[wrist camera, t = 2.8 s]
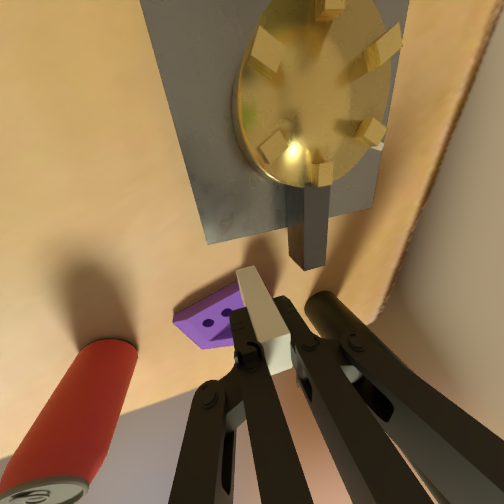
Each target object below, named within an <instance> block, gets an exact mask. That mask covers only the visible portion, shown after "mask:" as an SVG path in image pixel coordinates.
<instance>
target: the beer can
mask: <svg viewBox="0 0 504 504" xmlns="http://www.w3.org/2000/svg"><path fill="white" fill-rule="evenodd" d="M137 359H138V354H137V351H136V349H135V348H134V347H133V346H132V345H131V344H129V343H127V342H125V341H121V340H116V339H106V340H99V341H96V342H94V343H91V344H89V345H87V346H86V347H84V348H83V349H82V350H81V351H80V352H79V354H78V355H77V357H76V358H75V360H74V361H73V363H72V364H71V366H70V367H69V369H68V371H67V372H66V374H65V375H64V377H63V378H62V380H61V381H60V383H59V385H58V386H57V388H56V389H55V391H54V392H53V394H52V395H51V397H50V399H49V400H48V402H47V403H46V405H45V406H44V408H43V409H42V411H41V413H40V414H39V416H38V417H37V419H36V420H35V422H34V423H33V425H32V427H31V428H30V430H29V431H28V433H27V434H26V436H25V437H24V439H23V441H22V442H21V444H20V445H19V447H18V448H17V450H16V451H15V453H14V455H13V456H12V458H11V459H10V461H9V462H8V464H7V466H6V469H5V471H4V473H3V476H2V478H1V482H0V504H76V503H77V502H79V501H80V500H81V499H82V498H83V497H84V496H85V495H86V494H87V493H88V489H89V485H90V483H91V482H92V480H93V479H94V477H95V475H96V473H97V472H98V471H99V469H100V467H101V466H102V464H103V461H104V459H105V457H106V455H107V453H108V449H109V446H110V443H111V440H112V437H113V434H114V431H115V428H116V424H117V421H118V418H119V415H120V412H121V409H122V406H123V403H124V400H125V397H126V393H127V390H128V387H129V384H130V381H131V378H132V375H133V372H134V369H135V365H136V362H137Z"/></svg>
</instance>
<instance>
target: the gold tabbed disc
mask: <svg viewBox="0 0 504 504" xmlns="http://www.w3.org/2000/svg"><path fill="white" fill-rule="evenodd" d="M401 47H403V44H402V37H401V31H400V24H399V22H398V23H396V24H395V25H394V26H392V27H391V28H389V29H388V30H387V31H386V29H385V26H384V23H383V20H382V18H381V15H380V13H379V11H378V9H377V7H376V5H375V4H374V2H373V1H372V0H272V1H271V2H270V3H269V5H268V6H267V8H266V9H265V11H264V12H263V14H262V15H261V17H260V19H259V21H258V23H257V25H256V27H255V29H254V31H253V33H252V36H251V38H250V41H249V43H248V46H247V48H246V51H245V53H244V56H243V58H242V61H241V63H240V66H239V69H238V72H237V74H236V78H235V83H234V87H233V95H232V117H233V125H234V130H235V134H236V137H237V140H238V143H239V145H240V148H241V150H242V152H243V154H244V155H245V157H246V159H247V160H248V161H249V163H250V164H251V165H252V166H253V167H254V168H255V169H256V170H257V171H258V172H259V173H260V174H261V175H263V176H264V177H266V178H268V179H270V180H272V181H275V182H278V183H282V184H286V200H287V223H288V246H289V256H290V257H291V258H292V259H293V260H294V261H295V262H296V263H297V264H298V265H299V266H300V267H301V268H302V269H303V271H307V270H310V269H314V268H318V267H321V266H325V261H326V246H327V231H328V217H329V202H330V188H331V185H332V182H334V181H335V180H337V179H339V178H341V177H342V176H343V175H345V174H346V173H347V172H349V171H350V170H351V169H352V168H353V167H354V166H355V165H356V164H357V163H358V161H359V160H360V159H361V158H362V157H363V155H364V154H365V153H366V151H367V150H368V148H369V147H375V146H378V145H379V143H380V142H381V140H382V138H383V136H384V134H385V133H386V131H387V128H386V127H385V126H384V125H382V124H381V121H382V119H383V115H384V112H385V109H386V105H387V100H388V95H389V88H390V78H391V58H390V57H391V56H392V55H394V54H395V53H396V52H397V51H398V50H399V49H400V48H401Z"/></svg>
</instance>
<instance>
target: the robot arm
mask: <svg viewBox="0 0 504 504" xmlns="http://www.w3.org/2000/svg"><path fill="white" fill-rule="evenodd" d="M236 275H237V279H238V284H239V289H240V293H241V298H242V301H243V304H244V307H243V308H239V309H236V310H233V311H231V313H230V317H229V320H230V326H231V331H232V337H233V342H234V348H235V351H234V359H235V364H234V367H233V368H232V370H231V371H230V372H229V373H228V374H227V375H226V376H224V377H223V378H222V379H220V380H219V381H217V380H209V381H206V382H205V383H203V384H202V385H201V386H200V387H199V388H198V389H197V391H196V392H195V395H194V397H193V400H192V404H191V409H190V413H189V417H188V421H187V426H186V430H185V434H184V439H183V443H182V447H181V451H180V455H179V459H178V464H177V468H176V472H175V476H174V481H173V485H172V489H171V493H170V497H169V502H168V504H233V490H234V470H235V449H236V429H237V427H238V426H239V425H240V424H242V423H243V422H244V421H245V419H247V425H248V431H249V436H250V441H251V447H252V452H253V458H254V464H255V470H256V475H257V480H258V486H259V492H260V498H261V503H262V504H314V503H313V500H312V497H311V494H310V491H309V488H308V485H307V482H306V479H305V476H304V473H303V470H302V467H301V464H300V461H299V458H298V455H297V452H296V449H295V446H294V444H293V441H292V437H291V434H290V431H289V428H288V425H287V423H286V419H285V416H284V414H283V411H282V407H281V405H280V401H279V398H278V395H277V392H276V389H275V386H274V384H273V381H272V377H271V375H273V374H276V373H279V372H281V371H284V370H287V369H290V368H292V363H293V365H294V367H295V370H296V382H297V386H298V387H300V386H301V389H302V391H303V393H304V395H305V397H306V399H307V402H308V404H309V406H310V409H311V411H312V413H313V415H314V418H315V420H316V422H317V424H318V427H319V429H320V431H321V433H322V435H323V437H324V440H325V442H326V444H327V446H328V449H329V451H330V453H331V455H332V458H333V460H334V462H335V465H336V467H337V469H338V471H339V473H340V476H341V478H342V480H343V482H344V484H345V487H346V489H347V491H348V494H349V495H350V498H351V500H352V502H353V504H434V503H433V501H432V500H431V498H430V497H429V495H428V494H427V492H426V491H425V490H424V488H423V487H422V485H421V484H420V482H419V481H418V479H417V478H416V476H415V475H414V473H413V472H412V471H411V469H410V468H409V466H408V465H407V463H406V462H405V460H404V459H403V458H402V456H401V455H400V453H399V452H398V450H397V449H396V447H395V446H394V444H393V443H392V442H391V440H390V439H389V437H390V438H391V439H392V440H393V441H394V442H395V443H396V444H397V445H398V446H399V448H400V449H401V450H402V451H403V452H404V453H405V454H406V455H407V456H408V457H409V458H410V460H411V461H412V462H413V463H414V464H415V465H416V466H417V467H418V468H419V469H420V470H421V472H422V473H423V474H424V475H425V476H426V477H427V478H428V479H429V480H430V481H431V482H432V484H433V485H434V486H435V487H436V488H437V489H438V490H439V491H440V492H441V493H442V494H443V496H444V497H445V498H446V499H447V500H448V501H449V502H450V503H451V504H504V441H503V440H502V439H501V438H499V437H498V436H497V435H496V434H494V433H493V432H491V431H490V430H489V429H488V428H486V427H485V426H484V425H482V424H481V423H480V422H478V421H477V420H476V419H474V418H473V417H472V416H470V415H469V414H467V413H466V412H465V411H464V410H462V409H461V408H460V407H458V406H457V405H456V404H454V403H453V402H452V401H450V400H449V399H447V398H446V397H445V396H444V395H442V394H441V393H440V392H438V391H437V390H436V389H434V388H433V387H432V386H430V385H429V384H428V383H426V382H425V381H424V380H422V379H421V378H420V377H418V376H417V375H416V374H414V373H413V372H412V371H410V370H409V369H408V368H406V367H405V366H404V365H402V364H401V363H400V362H398V361H397V360H396V359H394V358H393V357H392V356H390V355H389V354H388V353H386V352H385V351H384V350H382V349H381V348H380V347H378V346H377V345H376V344H374V343H373V342H372V341H370V340H369V339H368V338H366V337H365V336H363V335H361V334H360V333H356V332H346V333H344V334H343V335H342V336H341V339H324V338H320V337H318V336H317V335H315V334H313V333H312V332H311V331H310V329H309V328H308V326H307V325H306V323H305V322H304V320H303V319H302V317H301V316H300V314H299V313H298V312H297V310H296V308H295V307H294V305H293V304H292V302H291V301H290V299H288V298H287V297H285V296H284V295H283V296H279V297H276V298H271V296H270V294H269V292H268V290H267V288H266V286H265V285H264V283H263V281H262V279H261V277H260V275H259V273H258V271H257V270H256V268H255V266H254V265H252V266H248V267H245V268H241V269H237V270H236ZM385 432H386V433H387V434H388V435H389V437H388V436H387V434H386V433H385Z"/></svg>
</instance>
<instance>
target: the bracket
mask: <svg viewBox="0 0 504 504" xmlns="http://www.w3.org/2000/svg"><path fill="white" fill-rule="evenodd" d="M243 307H244V304H243V301H242V298H241V293H240V289H239V284H238V280H237V281H235V282H233V283H232V284H230V285H228V286H226V287H224V288H222V289H221V290H219V291H217V292H215V293H213V294H212V295H210V296H208V297H206V298H204V299H203V300H201V301H199V302H197V303H195V304H193V305H192V306H190V307H188V308H186V309H184V310H183V311H181V312H179V313H177V314H175V315H174V316H173V322H172V323H173V324H175V325H176V326H177V327H178V328H179V329H180V330H181V331H182V332H183V333H184V334H186V335H187V336H188V337H189V338H190V339H191V340H192V341H193V342H194V343H195V344H197V345H198V346H199V347H200V348H201V349H210V348H217V347H225V346H233V345H234V342H233V337H232V331H231V326H230V320H229V317H230V313H231V311H233V310H236V309H239V308H243Z"/></svg>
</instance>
